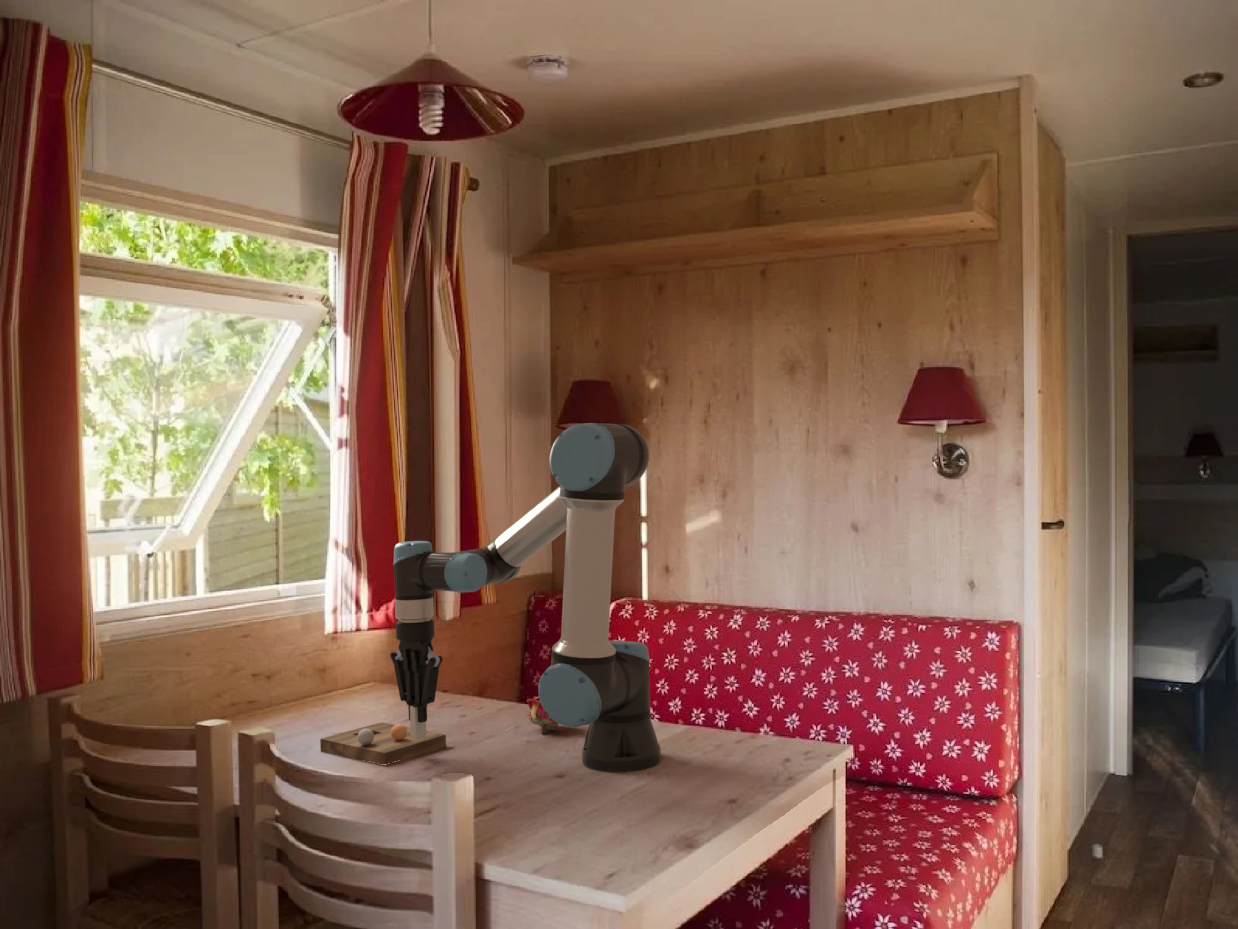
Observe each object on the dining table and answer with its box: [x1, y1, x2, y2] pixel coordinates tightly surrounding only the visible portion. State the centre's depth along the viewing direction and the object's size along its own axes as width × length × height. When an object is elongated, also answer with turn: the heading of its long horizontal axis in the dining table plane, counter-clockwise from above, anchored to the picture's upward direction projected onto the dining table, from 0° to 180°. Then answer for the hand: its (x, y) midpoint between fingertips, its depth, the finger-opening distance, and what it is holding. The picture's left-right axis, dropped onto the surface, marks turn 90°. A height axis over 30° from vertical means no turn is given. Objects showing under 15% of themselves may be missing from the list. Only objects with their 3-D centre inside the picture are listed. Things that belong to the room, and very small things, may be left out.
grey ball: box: [358, 729, 374, 745], centre depth 220 cm, size 3×3×3 cm
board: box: [319, 721, 447, 765], centre depth 226 cm, size 20×16×2 cm
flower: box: [526, 695, 562, 735], centre depth 237 cm, size 10×9×8 cm
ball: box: [391, 723, 407, 740], centre depth 223 cm, size 3×3×3 cm
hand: (418, 737), depth 220 cm, fingers closed
